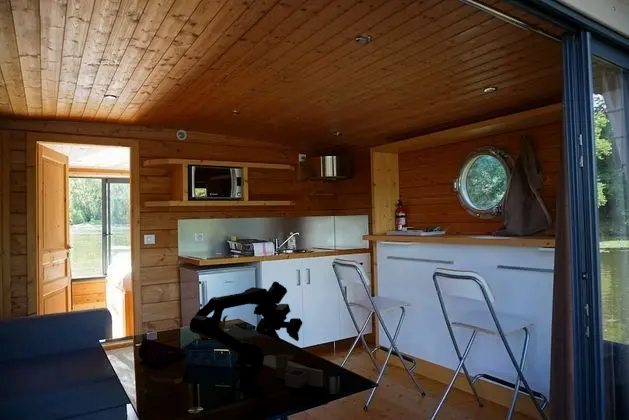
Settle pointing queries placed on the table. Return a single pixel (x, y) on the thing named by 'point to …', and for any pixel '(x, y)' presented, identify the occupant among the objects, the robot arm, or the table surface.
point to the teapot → (222, 325)
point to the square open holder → (296, 378)
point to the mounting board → (310, 375)
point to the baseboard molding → (271, 362)
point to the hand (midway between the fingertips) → (288, 339)
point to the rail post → (281, 366)
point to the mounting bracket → (156, 351)
